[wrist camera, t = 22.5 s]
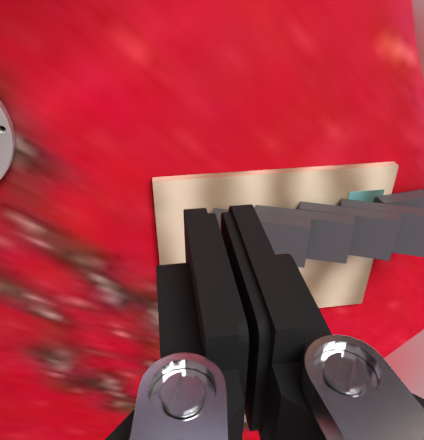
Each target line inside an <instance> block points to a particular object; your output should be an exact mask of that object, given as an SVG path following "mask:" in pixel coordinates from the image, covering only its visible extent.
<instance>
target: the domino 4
mask: <svg viewBox="0 0 424 440" xmlns="http://www.w3.org/2000/svg"><path fill="white" fill-rule="evenodd" d="M375 203H383V204H391V205H399V206H408V207H416V208H424V189H423V190H416V191H409V192H402V193H396V194H389V195H382V196H376V198H375Z"/></svg>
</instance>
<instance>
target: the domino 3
mask: <svg viewBox="0 0 424 440" xmlns="http://www.w3.org/2000/svg"><path fill="white" fill-rule="evenodd" d="M299 210H308V211H317V212H326V213H335V214H344V215H353V216H354V220H355V226H354V231H353V235H352V240H351V244H350V248H349V253H348V255H352V256H359V257H366V258H373V259H380V260H387V261H389V260H390V257H391V254H392V250H393V247H394V244H395V240H396V237H397V234H398V230H399V227H400V224H401V219H400V215H399V213H395V212H386V211H378V210H369V209H361V208H353V207H344V206H336V205H327V204H319V203H310V202H302V201H300V207H299Z"/></svg>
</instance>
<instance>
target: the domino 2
mask: <svg viewBox="0 0 424 440" xmlns="http://www.w3.org/2000/svg"><path fill="white" fill-rule="evenodd" d="M255 211H256V213H262V214H270V215H279V216H288V217H296V218H305V219H311V230H310V236H309V242H308V249H307V255H306V259H313V260H321V261H328V262H336V263H344V264H346V262H347V257H348V253H349V248H350V244H351V240H352V235H353V231H354V226H355V220H354V216H353V215H344V214H335V213H326V212H317V211H308V210H299V209H289V208H280V207H271V206H262V205H256V207H255Z"/></svg>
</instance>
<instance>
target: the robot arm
mask: <svg viewBox="0 0 424 440" xmlns="http://www.w3.org/2000/svg"><path fill="white" fill-rule="evenodd" d="M1 126H3V127H5V129H2V128H1ZM14 153H15V132H14V128H13V123H12V121H11V119H10V116H9V114H8V112H7V110H6V108H5V107H4V105H3V103H2V102H1V100H0V180H1V179H2V178H3V176H4V175H5V173H6V172H7V170H8V169H9V167H10V165H11V163H12V161H13V157H14ZM183 214H184V237H185V258H186V263H178V264H167V265H157V267H156V268H157V291H158V312H159V334H160V356H161V359H160V360H158V361H157V362H156V363H154V364H153V365H152V366H150V368H149V369H148V370H147V371H146V373H145V374H144V375H143V377H142V380H141V383H140V386H139V389H138V395H137V400H136V406H135V409H134V410H133V411H132V412H131V413H130V414H129V416H128V417H127V418H126V419H125V420H124V421H123V422H122V423H121V424H120V425H119V426H118V427H117V428H116V429H115V430H114V431H113V432H112V433H111V434H110V435H109V436H108V437H107V438H106V439H105V440H242V432H243V424H244V410H245V414H246V419H247V423H248V427H249V429H250V431H254V430H258V431H259V435H260V439H261V440H424V399H422V398H420V397H418V396H416V395H414V394H412V393H411V392H410V391H409V390H408V388H407V387H406V386H405V385H404V383H403V382H402V381H401V379H400V378H399V377H398V376H397V375H396V373H395V372H394V371H393V369H392V368H391V367H390V366H389V364H388V363H387V362H386V361H385V359H384V358H383V357H382V356H381V355H380V354H379V353H378V352H377V351H376V350H375V349H374V348H373V347H371V346H369V345H368V344H366V343H365V342H363V341H361V340H358V339H356V338H353V337H350V336H344V335H332V334H331V332H330V330H329V328H328V326H327V324H326V322H325V320H324V318H323V316H322V314H321V312H320V310H319V308H318V306H317V304H316V302H315V300H314V298H313V296H312V294H311V292H310V290H309V288H308V286H307V284H306V282H305V281H304V279H303V277H302V275H301V273H300V271H299V269H298V267H297V265H296V263H295V261H294V259H293V257H292V256H291V255H290V254H277V255H275V253H274V250H273V248H272V246H271V244H270V242H269V239H268V237H267V235H266V233H265V231H264V228H263V226H262V224H261V222H260V220H259V217H258V215H257V213H256V211H255V209H254V206H253V205H252V204H248V205H235V206H230V207H229V211H228V212H222V213H221V231H220V227H219V224H218V220H217V217H216V214H215V213H207V209H206V208H195V209H184V212H183Z"/></svg>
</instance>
